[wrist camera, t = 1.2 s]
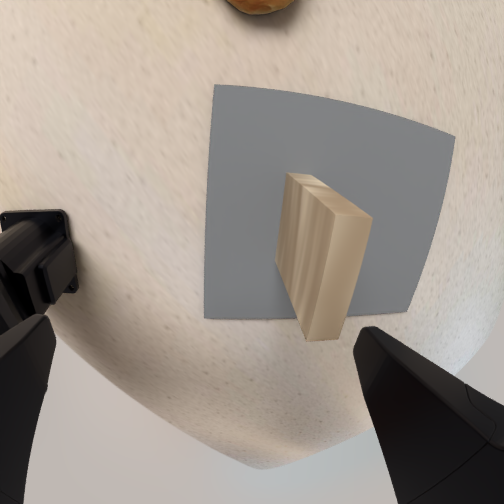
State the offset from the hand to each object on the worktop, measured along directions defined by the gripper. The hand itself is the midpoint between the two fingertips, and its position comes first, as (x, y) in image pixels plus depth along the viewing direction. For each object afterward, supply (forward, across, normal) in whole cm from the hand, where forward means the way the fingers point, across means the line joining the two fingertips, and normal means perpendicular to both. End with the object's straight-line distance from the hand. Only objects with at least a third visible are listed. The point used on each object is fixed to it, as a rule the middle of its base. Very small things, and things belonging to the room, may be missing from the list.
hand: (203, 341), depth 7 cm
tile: (+12, -5, 0) cm, 13 cm away
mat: (+12, -9, 0) cm, 15 cm away
